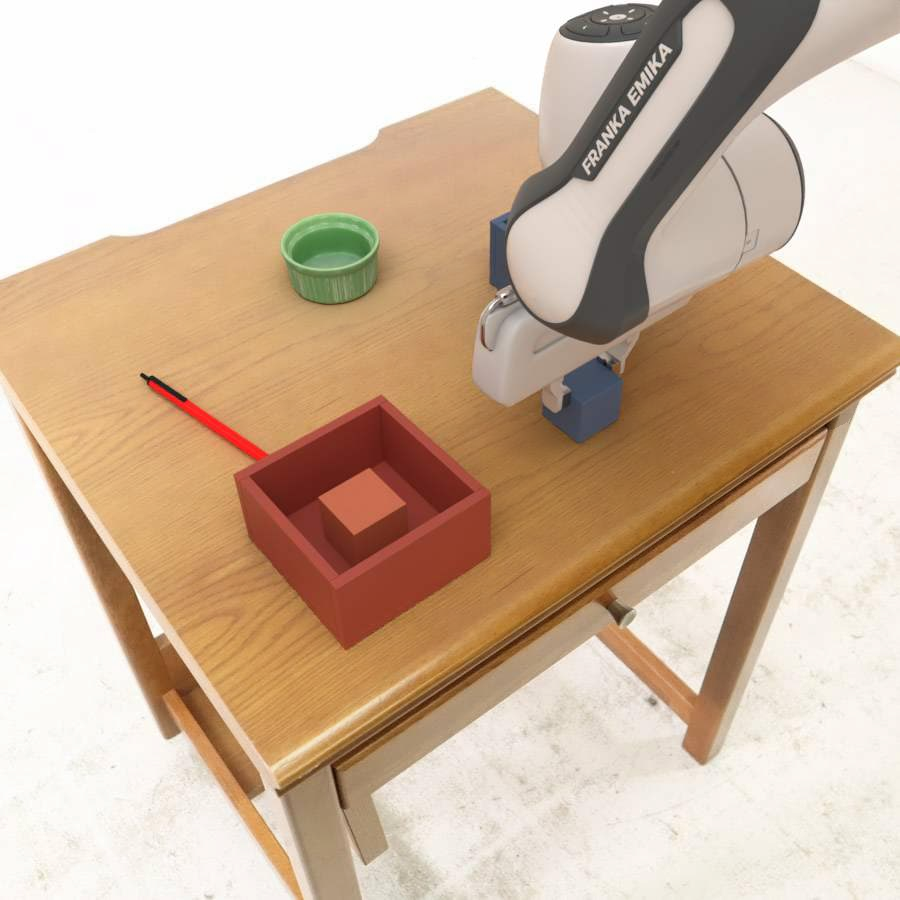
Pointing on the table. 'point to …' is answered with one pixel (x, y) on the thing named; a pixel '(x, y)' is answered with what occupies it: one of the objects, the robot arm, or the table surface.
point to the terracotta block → (362, 516)
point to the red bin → (397, 565)
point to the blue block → (588, 401)
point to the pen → (204, 417)
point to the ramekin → (331, 257)
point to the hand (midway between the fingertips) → (583, 388)
